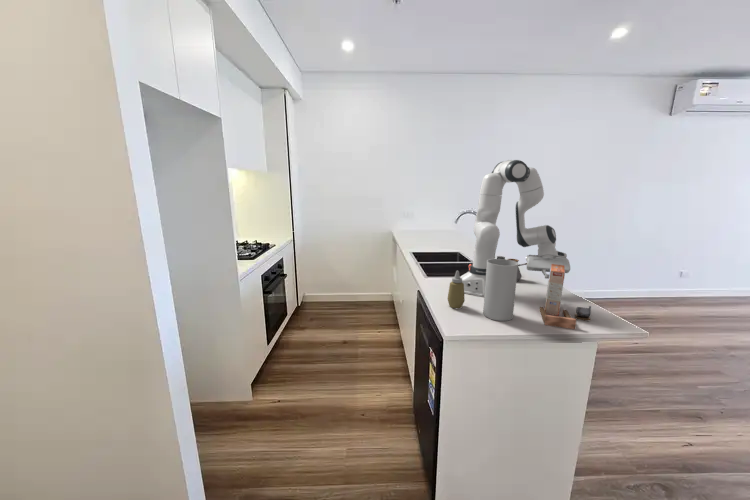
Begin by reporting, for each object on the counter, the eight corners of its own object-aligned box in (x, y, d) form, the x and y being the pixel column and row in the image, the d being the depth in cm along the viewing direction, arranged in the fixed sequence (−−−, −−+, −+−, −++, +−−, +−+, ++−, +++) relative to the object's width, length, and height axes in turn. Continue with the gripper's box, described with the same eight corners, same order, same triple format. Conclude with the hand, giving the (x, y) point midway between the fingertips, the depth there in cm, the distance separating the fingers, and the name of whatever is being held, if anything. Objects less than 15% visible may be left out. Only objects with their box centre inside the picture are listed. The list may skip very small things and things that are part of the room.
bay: (544, 324, 128) (545, 316, 127) (539, 310, 143) (540, 302, 142) (574, 329, 124) (576, 320, 123) (566, 314, 139) (567, 305, 138)
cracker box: (559, 316, 136) (565, 271, 132) (544, 313, 139) (549, 270, 135) (559, 306, 148) (565, 264, 143) (545, 303, 151) (550, 263, 146)
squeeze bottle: (452, 302, 153) (454, 267, 149) (467, 306, 147) (469, 271, 144) (443, 306, 148) (445, 271, 144) (458, 311, 142) (460, 274, 138)
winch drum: (576, 319, 133) (578, 307, 132) (574, 315, 137) (576, 304, 136) (591, 321, 131) (593, 309, 130) (588, 317, 135) (590, 305, 134)
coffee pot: (497, 279, 190) (499, 256, 187) (506, 276, 197) (508, 253, 194) (533, 288, 174) (536, 262, 171) (541, 283, 182) (544, 259, 179)
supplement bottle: (506, 276, 197) (507, 258, 194) (494, 275, 198) (496, 257, 195) (503, 273, 203) (505, 255, 201) (493, 272, 204) (494, 255, 202)
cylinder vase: (477, 311, 141) (481, 259, 136) (500, 308, 145) (504, 258, 140) (494, 323, 130) (499, 266, 124) (519, 319, 133) (524, 264, 128)
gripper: (526, 251, 166) (527, 273, 159) (570, 253, 159) (572, 277, 152) (525, 257, 171) (525, 279, 164) (567, 260, 164) (569, 282, 157)
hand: (548, 278), depth 158 cm, fingers closed
